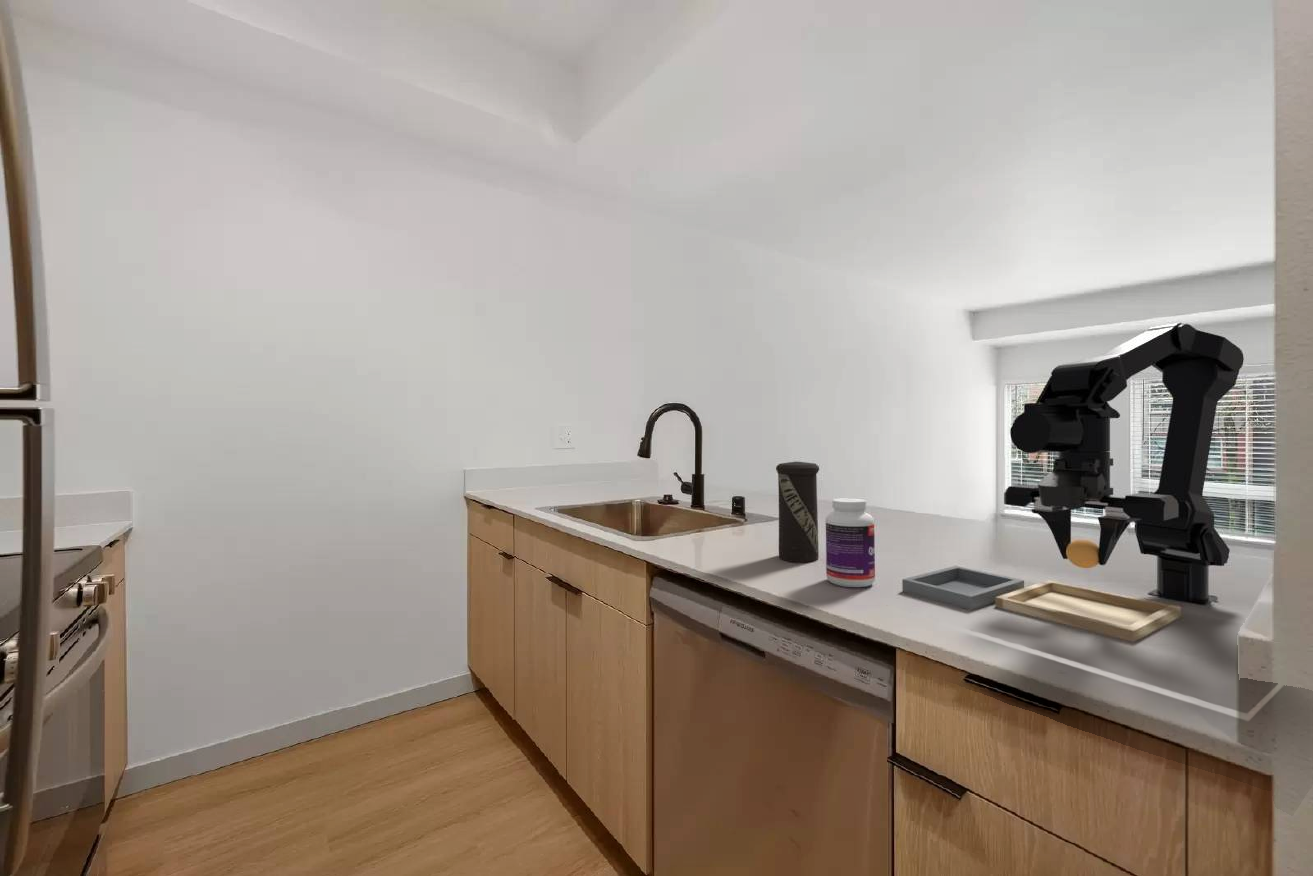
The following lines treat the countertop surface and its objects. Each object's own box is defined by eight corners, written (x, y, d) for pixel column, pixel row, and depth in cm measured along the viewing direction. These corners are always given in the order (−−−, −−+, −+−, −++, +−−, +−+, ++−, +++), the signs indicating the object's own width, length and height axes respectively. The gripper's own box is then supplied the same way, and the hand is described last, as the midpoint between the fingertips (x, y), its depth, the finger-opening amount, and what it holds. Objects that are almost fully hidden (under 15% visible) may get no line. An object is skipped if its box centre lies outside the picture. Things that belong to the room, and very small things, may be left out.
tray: (955, 579, 96) (955, 565, 96) (1024, 595, 86) (1024, 580, 86) (902, 594, 88) (902, 579, 88) (971, 613, 79) (971, 596, 79)
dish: (1048, 591, 88) (1048, 580, 88) (1180, 620, 75) (1180, 606, 75) (995, 609, 80) (995, 597, 80) (1133, 645, 66) (1133, 631, 66)
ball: (1073, 562, 80) (1073, 535, 80) (1107, 568, 77) (1107, 540, 76) (1060, 566, 78) (1060, 538, 78) (1094, 572, 74) (1094, 543, 74)
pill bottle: (879, 590, 90) (878, 503, 90) (828, 588, 92) (827, 502, 92) (870, 577, 98) (869, 497, 98) (823, 575, 100) (823, 496, 99)
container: (778, 562, 110) (777, 463, 109) (775, 552, 119) (774, 460, 118) (822, 563, 108) (821, 462, 108) (817, 553, 117) (816, 460, 117)
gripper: (984, 451, 81) (984, 556, 81) (1146, 456, 65) (1146, 586, 65) (1022, 449, 87) (1022, 547, 87) (1180, 452, 71) (1179, 573, 71)
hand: (1083, 561), depth 77 cm, fingers closed on ball, 4 cm apart
